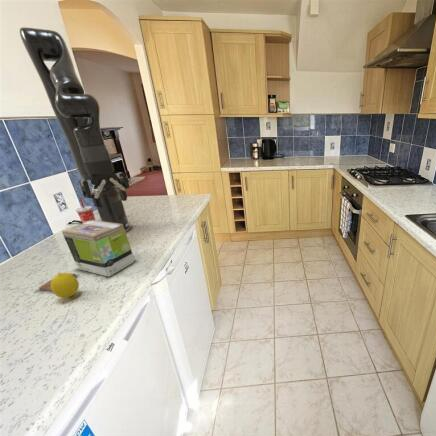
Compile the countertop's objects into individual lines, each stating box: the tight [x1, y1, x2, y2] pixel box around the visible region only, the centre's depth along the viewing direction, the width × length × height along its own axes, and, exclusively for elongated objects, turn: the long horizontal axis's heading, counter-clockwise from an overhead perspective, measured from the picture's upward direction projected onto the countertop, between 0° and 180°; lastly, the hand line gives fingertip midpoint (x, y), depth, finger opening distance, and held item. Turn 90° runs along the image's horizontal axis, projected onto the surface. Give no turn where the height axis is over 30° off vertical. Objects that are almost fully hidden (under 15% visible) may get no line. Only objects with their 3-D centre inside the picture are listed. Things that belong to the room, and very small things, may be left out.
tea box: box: [61, 219, 135, 278], centre depth 81 cm, size 15×10×15 cm, turn 71°
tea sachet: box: [38, 273, 77, 292], centre depth 75 cm, size 5×7×1 cm
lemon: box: [50, 272, 80, 299], centre depth 68 cm, size 6×6×8 cm
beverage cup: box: [75, 197, 96, 224], centre depth 112 cm, size 6×6×14 cm
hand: (112, 204), depth 89 cm, fingers open, 8 cm apart
